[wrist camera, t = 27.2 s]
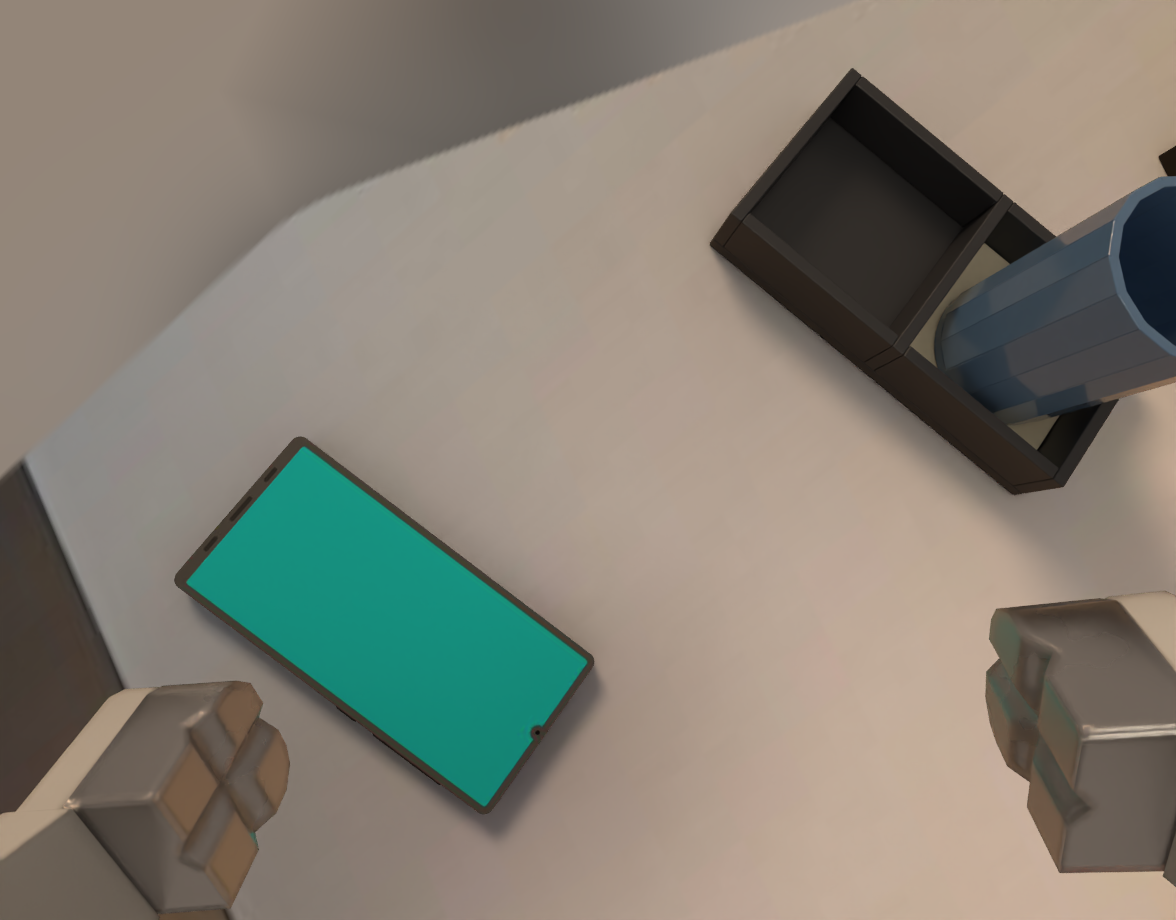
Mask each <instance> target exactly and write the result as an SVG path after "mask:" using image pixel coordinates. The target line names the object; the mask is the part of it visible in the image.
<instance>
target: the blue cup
mask: <svg viewBox="0 0 1176 920" xmlns="http://www.w3.org/2000/svg"><path fill="white" fill-rule="evenodd" d="M934 352H935V360H936V364H937V368H938V369H939V370H941V371H942V372H943V373H944V374H945V375H947V376H948V377H949V378H950V379H951V380H953V381H954V382H955V383H956V384H958V385H959V386H960V387H961V388H962V389H964V390H965V391H966V392H967V393H968V394H970V395H971V396H972V397H973V398H974V399H976V400H977V401H978V402H979V403H981V404H982V405H983V406H984V407H985V408H987V409H988V410H989V411H990V412H991V413H993V414H994V415H995V416H996V417H998V418H999V419H1000V420H1001V421H1002V422H1004V423H1005V424H1006V425H1007V426H1009V425H1021V424H1026V423H1029V422H1038V421H1041V420H1045V419H1048V418H1052V417H1055V416H1059V415H1062V414H1066V413H1069V412H1073V411H1076V410H1080V409H1084V408H1087V407H1091V406H1094V405H1098V404H1101V403H1105V402H1108V401H1112V400H1115V399H1119V398H1122V397H1126V396H1129V395H1133V394H1137V393H1140V392H1144V391H1147V390H1151V389H1154V388H1158V387H1161V386H1165V385H1168V384H1172V383H1175V382H1176V176H1167V177H1158V178H1157V179H1155V180H1153V181H1151V182H1149V183H1148V184H1146V185H1144V186H1142V187H1140V188H1138V189H1137V190H1135V191H1133V192H1131V193H1130V194H1128V195H1126V196H1124V197H1123V198H1121V199H1119V200H1118V201H1116V202H1114V203H1113V204H1111V205H1109V206H1108V207H1106V208H1104V209H1103V210H1101V211H1099V212H1097V213H1096V214H1094V215H1092V216H1091V217H1089V218H1087V219H1086V220H1084V221H1082V222H1081V223H1079V224H1077V225H1076V226H1074V227H1072V228H1070V229H1069V230H1067V231H1065V232H1064V233H1062V234H1060V235H1059V236H1057V237H1055V238H1054V239H1052V240H1050V241H1049V242H1047V243H1045V244H1043V245H1042V246H1040V247H1038V248H1037V249H1035V250H1033V251H1032V252H1030V253H1028V254H1027V255H1025V256H1023V257H1021V258H1020V259H1018V260H1016V261H1015V262H1013V263H1011V264H1010V265H1008V266H1006V267H1005V268H1003V269H1001V270H1000V271H998V272H996V273H994V274H993V275H991V276H989V277H988V278H986V279H984V280H983V281H981V282H979V283H978V284H976V285H974V286H973V287H971V288H969V289H967V290H966V291H964V292H962V293H961V294H960V295H959V296H957V297H956V298H955V299H954V300H953V301H952V302H951V303H950V304H949V305H948V306H947V307H946V309H945V310H944V312H943V314H942V315H941V318H940V320H939V322H938V325H937V329H936V333H935V340H934Z"/></svg>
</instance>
